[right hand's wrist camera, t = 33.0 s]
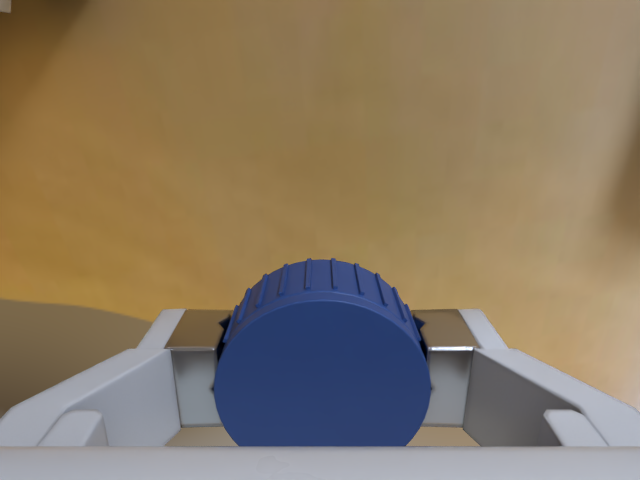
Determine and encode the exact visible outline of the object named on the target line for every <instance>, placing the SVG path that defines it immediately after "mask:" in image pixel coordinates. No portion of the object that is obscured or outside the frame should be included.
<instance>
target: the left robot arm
mask: <svg viewBox="0 0 640 480" xmlns="http://www.w3.org/2000/svg"><path fill="white" fill-rule="evenodd" d="M0 12H6V13H11V0H0Z"/></svg>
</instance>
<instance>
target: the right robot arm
mask: <svg viewBox="0 0 640 480" xmlns="http://www.w3.org/2000/svg"><path fill="white" fill-rule="evenodd" d="M410 312H411V315H412V317H413V320H414V322H415V325H416V328H417V330H418V333H419V335H420V338H421V341H419V343H420V346H421V349H422V352H423V354H424V357H425V359H426V362H427V366H428V369H429V373H430V380H431V396H430V402H429V407H428V410H427V413H426V416H425V419H424V421H423V423H422V425H421V426H423V427H459V428H463V430H464V431H465V432H466V433H467V434H468V435H469V436H470V437H471V438H473V439H474V440H475V441H476V442H477V443H478V444H479V445H480V446H164V445H165V444H166V443H167V442H169V441H170V440H171V439H172V438H173V437H174V436H175V435H176V434H177V433H178V432H179V431H180V430H181V428H184V427H220V426H223V424H222V422H221V420H220V418H219V415H218V412H217V409H216V405H215V399H214V378H215V372H216V368H217V365H218V362H219V359H220V356H221V353H222V350H223V347H224V345H225V342H223V339H224V336H225V333H226V331H227V328H228V325H229V322H230V320H231V317H232V314H233V310H206V309H188V310H187V309H164V310H162V311H161V312H160V314H159V315H158V317H157V318H156V319H155V321H154V322H153V324H152V325H151V327H150V328H149V330H148V331H147V333H146V334H145V336H144V337H143V338H142V340H141V341H140V343H139V344H138V346H137V347H136V349H127V350H125V351H123V352H121V353H119V354H117V355H115V356H113V357H111V358H109V359H107V360H105V361H103V362H101V363H99V364H97V365H95V366H93V367H91V368H89V369H87V370H85V371H83V372H81V373H79V374H77V375H75V376H73V377H71V378H69V379H67V380H65V381H63V382H61V383H59V384H57V385H55V386H53V387H51V388H49V389H47V390H45V391H43V392H41V393H39V394H37V395H35V396H33V397H31V398H29V399H27V400H25V401H23V402H21V403H19V404H17V405H15V406H13V407H11V408H10V409H9V410H8V411H7V412H6V413H5V414H4V415H3V416H2V418H1V419H0V480H640V413H639V412H638V410H637V409H636V408H634V407H632V406H630V405H628V404H626V403H624V402H622V401H620V400H618V399H616V398H614V397H612V396H610V395H608V394H606V393H604V392H602V391H600V390H598V389H596V388H594V387H592V386H590V385H588V384H586V383H584V382H582V381H580V380H578V379H576V378H574V377H572V376H570V375H568V374H566V373H564V372H562V371H560V370H558V369H556V368H554V367H552V366H550V365H548V364H546V363H544V362H542V361H540V360H538V359H536V358H534V357H532V356H530V355H528V354H526V353H524V352H522V351H520V350H517V349H509V348H508V347H507V346H506V344H505V343H504V341H503V340H502V339H501V337H500V336H499V334H498V333H497V332H496V330H495V329H494V327H493V326H492V324H491V323H490V322H489V320H488V319H487V317H486V316H485V315H484V313H483V312H482V310H480V309H438V310H411V311H410Z"/></svg>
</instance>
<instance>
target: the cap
mask: <svg viewBox="0 0 640 480" xmlns="http://www.w3.org/2000/svg"><path fill="white" fill-rule="evenodd" d="M419 341H421V338H420V335H419V333H418V330H417V328H416V325H415V322H414V320H413V317H412V315H411V312H410V310H409V307H408V305H407V304H405V305H404V303H403V302H402V300H401V299H400V297H399V295H398V292H397V289H396V288H395V287H393V288H391V287H390V286H389V285H388V284H387V283H386V282H385V281H384V280H382V279H381V278H380V275H379V274H378V273H376V274H373V273H372V272H370V271H368V270H366V269H364V268H361V267H359V264H357V263H355V264H354V265H353V264H350V263H347V262H341V261H336V259H334V258H331V260H311V258H310V259H307V261H303V262H298V263H294V264H291V265H288V264H285V265H284V267H282V268H280V269H278V270H276V271H274V272H272V273H271V274H269V275H267V274H265V275H263V278H262V280H260V281H259V282H258V283H257V284H256V285H254V286H253V287H252V289H250V288H248V289H247V290H246V293H245V296H244V299H243V300H242V302H241V303H240V305H239V306H238V305H236V306H235V309H234V311H233V314H232V317H231V320H230V322H229V325H228V328H227V331H226V333H225V336H224V339H223V342H225V345H224V347H223V350H222V353H221V356H220V359H219V362H218V365H217V368H216V372H215V378H214V399H215V405H216V409H217V412H218V415H219V418H220V420H221V422H222V424H223V426H224V428H225V430H226V431H227V432H228V434H229V435H230V437H231V438H232V439H233V440H234V441H235V443H236V444H237V445H238V446H406V445H407V444H408V443H409V442H410V441H411V439H412V438H413V437H414V435H415V434H416V433H417V431H418V430H419V428H420V427H421V425H422V423H423V421H424V419H425V416H426V413H427V410H428V407H429V402H430V396H431V380H430V373H429V369H428V366H427V362H426V359H425V357H424V354H423V352H422V349H421V346H420V343H419Z"/></svg>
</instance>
